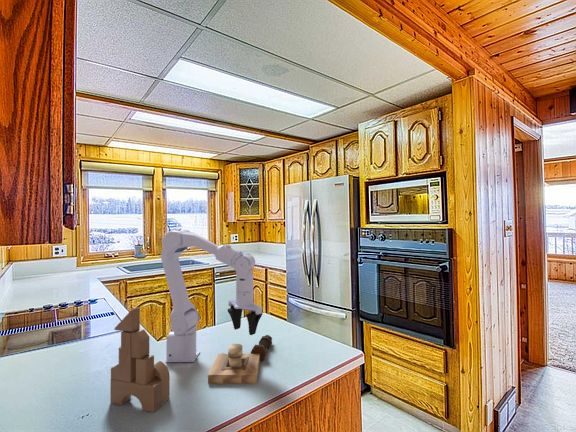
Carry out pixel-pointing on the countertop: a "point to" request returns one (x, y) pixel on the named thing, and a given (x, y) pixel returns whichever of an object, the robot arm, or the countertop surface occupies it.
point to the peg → (235, 355)
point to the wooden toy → (138, 368)
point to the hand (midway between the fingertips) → (244, 331)
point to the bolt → (262, 347)
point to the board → (234, 370)
